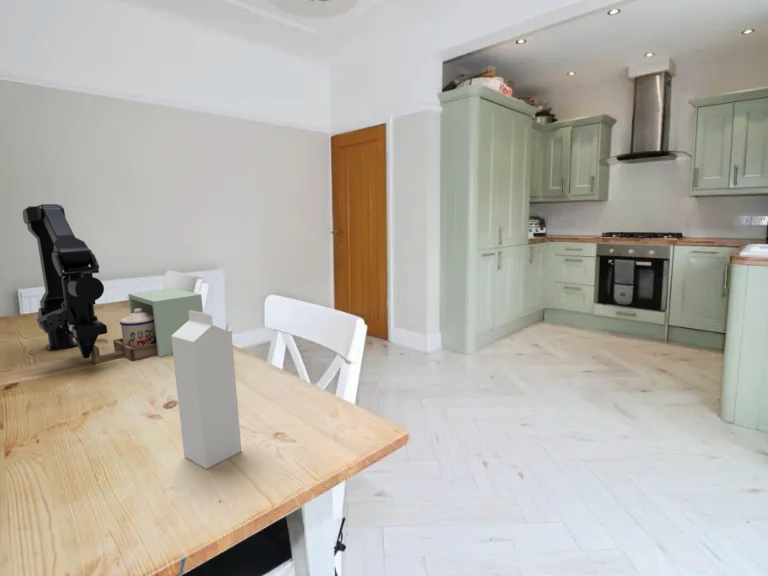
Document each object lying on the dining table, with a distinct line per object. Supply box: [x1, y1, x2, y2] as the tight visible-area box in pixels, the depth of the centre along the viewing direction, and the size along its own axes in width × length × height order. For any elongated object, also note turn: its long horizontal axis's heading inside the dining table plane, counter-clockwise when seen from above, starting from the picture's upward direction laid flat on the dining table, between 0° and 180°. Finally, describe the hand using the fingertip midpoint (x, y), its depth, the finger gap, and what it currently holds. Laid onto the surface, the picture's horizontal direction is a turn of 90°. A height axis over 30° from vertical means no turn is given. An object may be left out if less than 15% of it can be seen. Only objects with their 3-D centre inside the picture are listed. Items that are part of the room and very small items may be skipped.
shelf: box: [127, 287, 204, 358], centre depth 123 cm, size 19×12×15 cm, turn 47°
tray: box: [90, 337, 158, 365], centre depth 119 cm, size 14×23×4 cm, turn 137°
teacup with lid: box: [119, 309, 157, 348], centre depth 120 cm, size 12×9×12 cm
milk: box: [171, 310, 242, 470], centre depth 64 cm, size 6×6×22 cm
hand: (86, 357), depth 109 cm, fingers closed, pressing on tray
